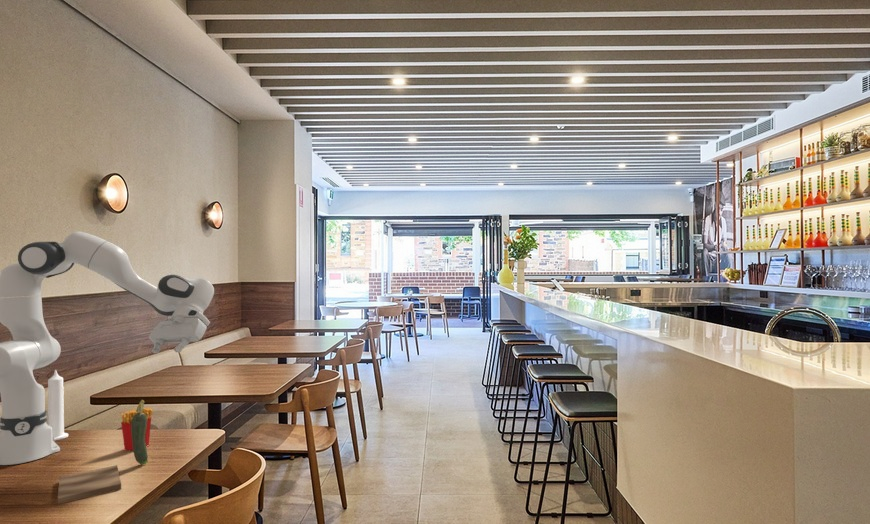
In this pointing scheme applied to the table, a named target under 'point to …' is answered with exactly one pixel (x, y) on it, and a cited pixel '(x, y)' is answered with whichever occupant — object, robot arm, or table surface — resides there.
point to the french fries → (127, 427)
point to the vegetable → (139, 434)
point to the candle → (56, 406)
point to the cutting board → (88, 484)
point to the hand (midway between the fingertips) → (165, 351)
